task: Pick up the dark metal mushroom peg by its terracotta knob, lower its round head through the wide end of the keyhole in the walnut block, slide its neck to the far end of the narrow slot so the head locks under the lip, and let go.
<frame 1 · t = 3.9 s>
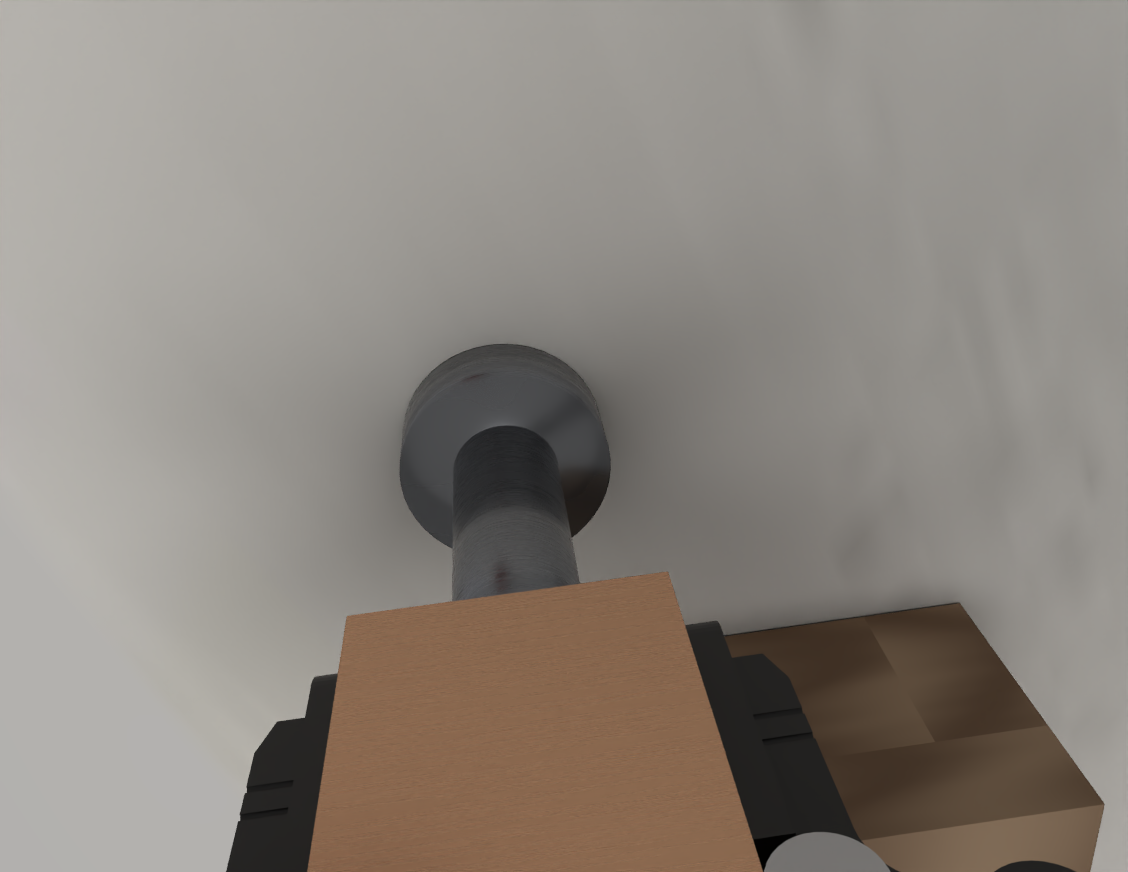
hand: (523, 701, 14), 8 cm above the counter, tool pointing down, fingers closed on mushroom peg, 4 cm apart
keyhole block: (753, 865, 27), on the counter
mushroom peg: (502, 435, 20), on the counter, touching gripper
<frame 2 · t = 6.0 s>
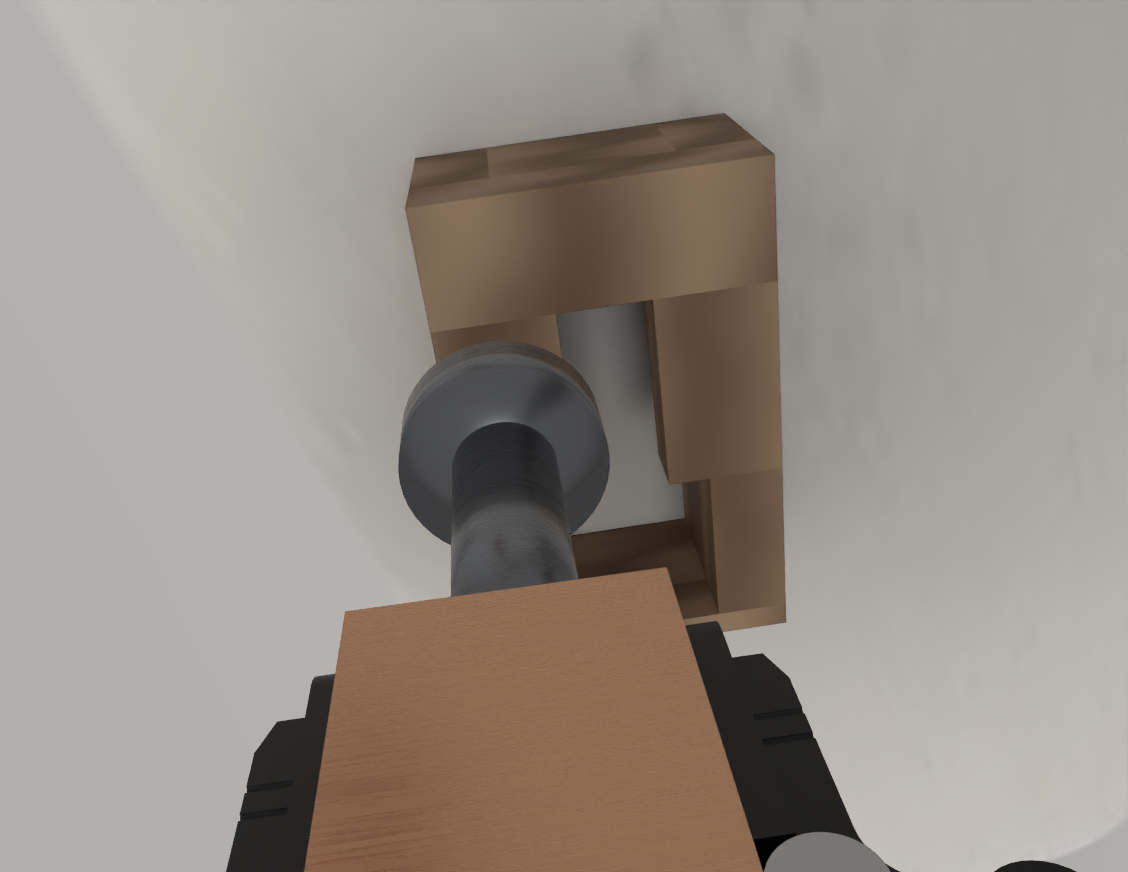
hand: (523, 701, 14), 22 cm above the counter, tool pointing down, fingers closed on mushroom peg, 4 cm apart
keyhole block: (597, 362, 36), on the counter
mushroom peg: (501, 432, 20), point 15 cm above the counter, touching gripper
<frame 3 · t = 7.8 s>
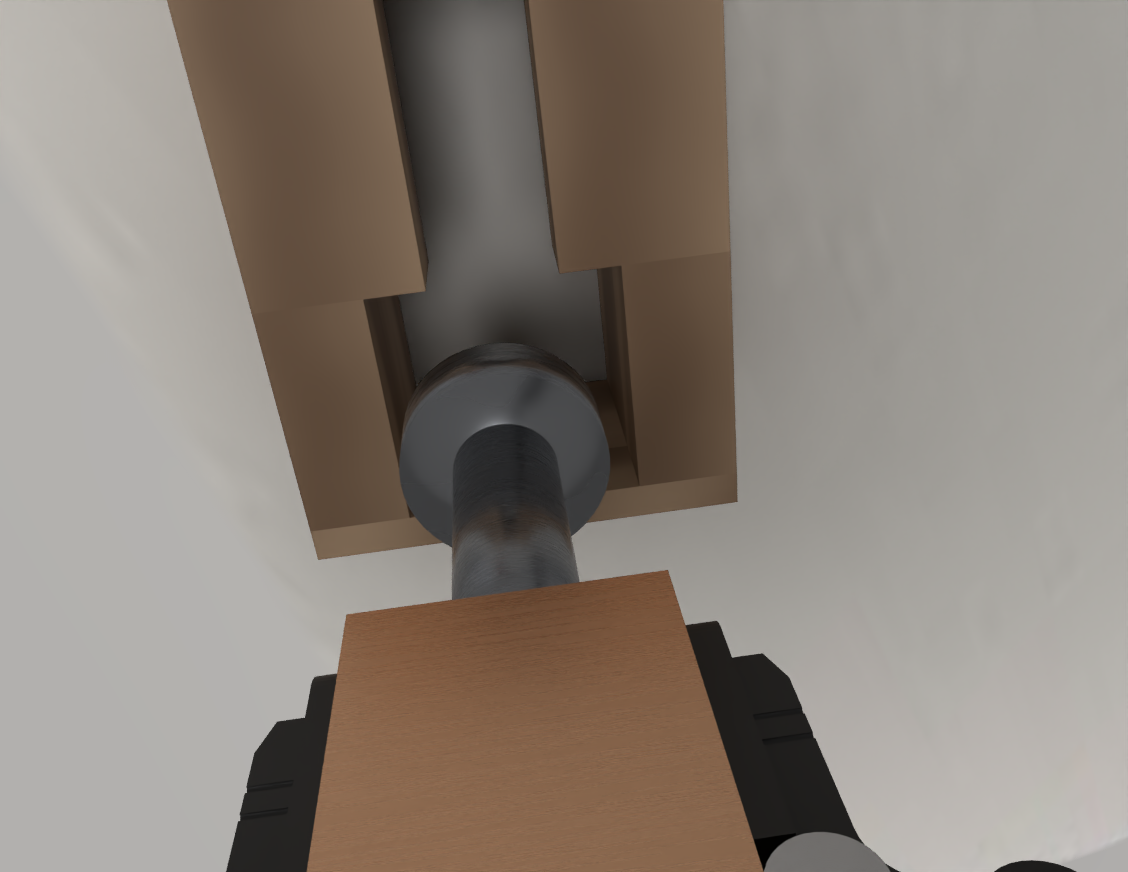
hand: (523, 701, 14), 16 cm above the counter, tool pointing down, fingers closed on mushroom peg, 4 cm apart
keyhole block: (476, 135, 25), on the counter
mushroom peg: (502, 434, 20), point 8 cm above the counter, touching gripper
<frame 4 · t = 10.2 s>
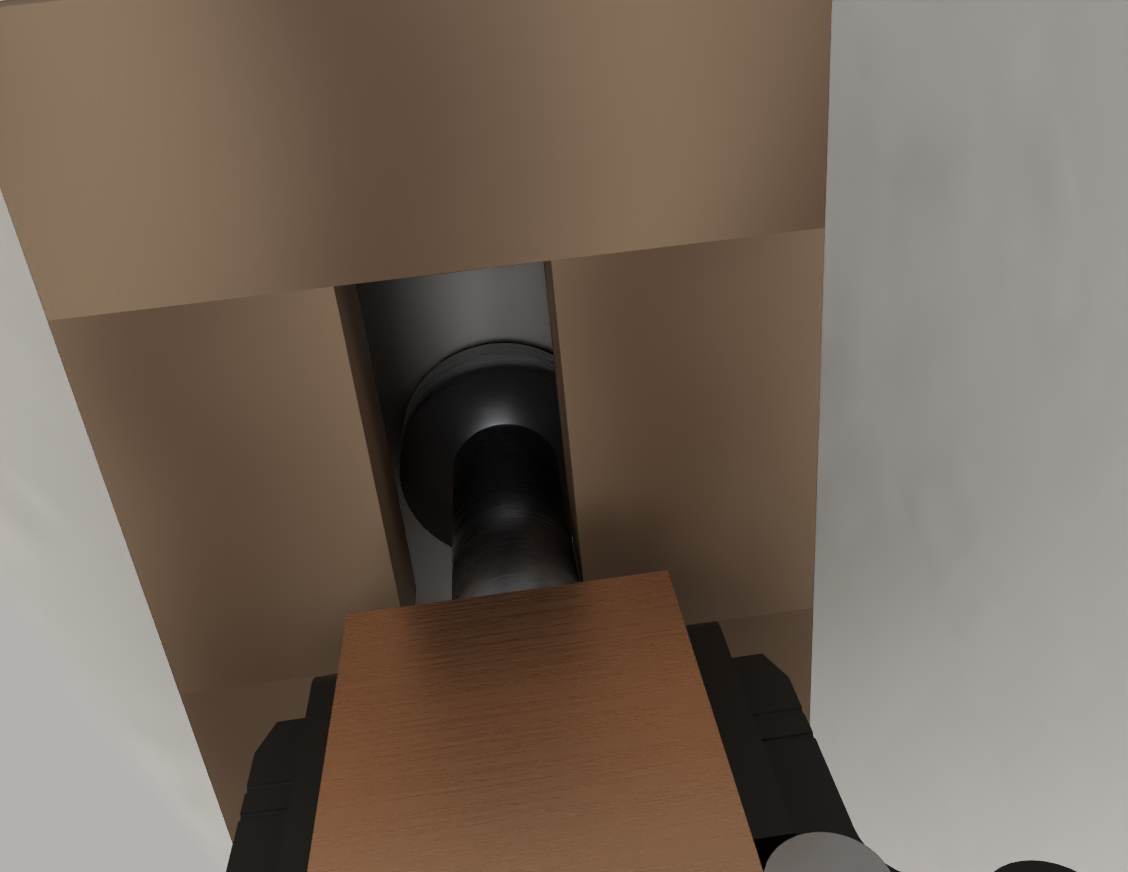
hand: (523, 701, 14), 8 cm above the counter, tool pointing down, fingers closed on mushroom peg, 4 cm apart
keyhole block: (477, 387, 20), on the counter
mushroom peg: (502, 434, 20), resting in keyhole block, touching gripper
when the fingers open (8 cm above the counter, at t = 12.1 s): mushroom peg stays where it is, resting in keyhole block.
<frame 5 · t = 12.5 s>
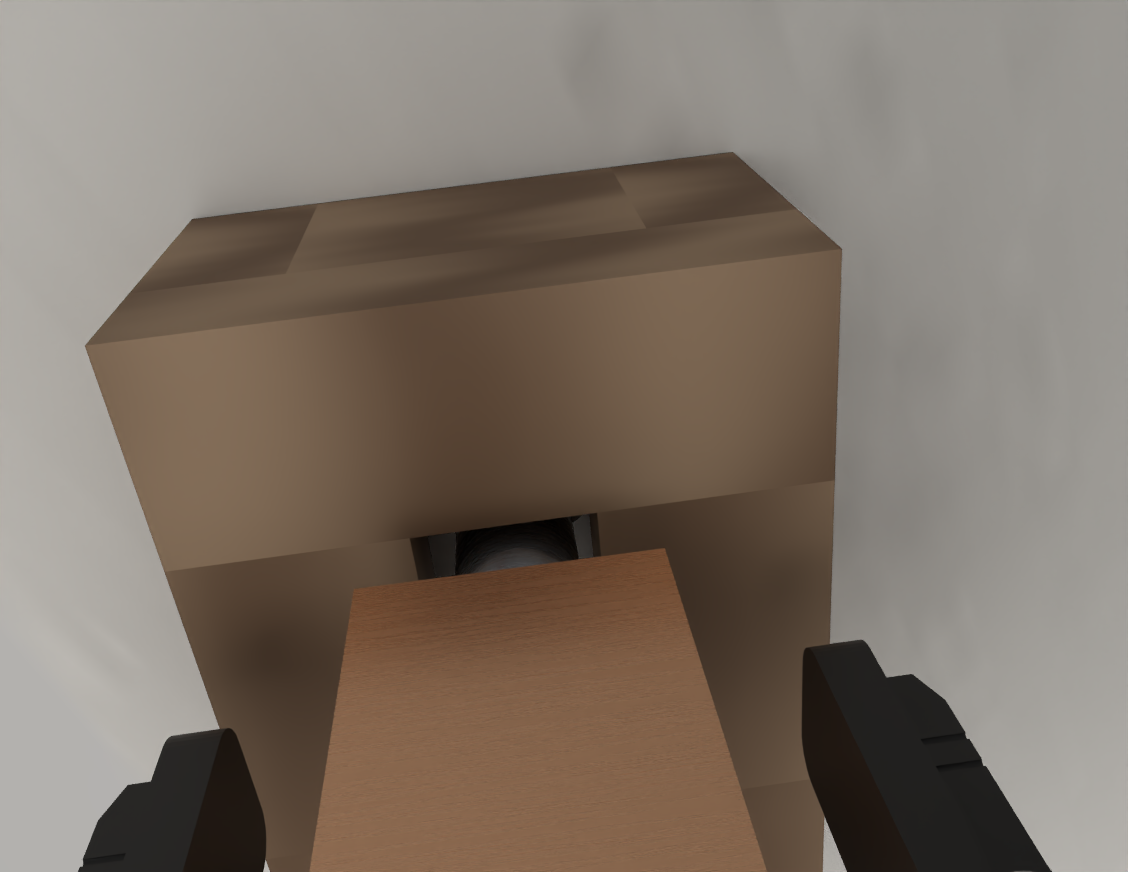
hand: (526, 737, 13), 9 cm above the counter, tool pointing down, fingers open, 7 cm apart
keyhole block: (517, 544, 22), on the counter
mushroom peg: (505, 423, 21), resting in keyhole block
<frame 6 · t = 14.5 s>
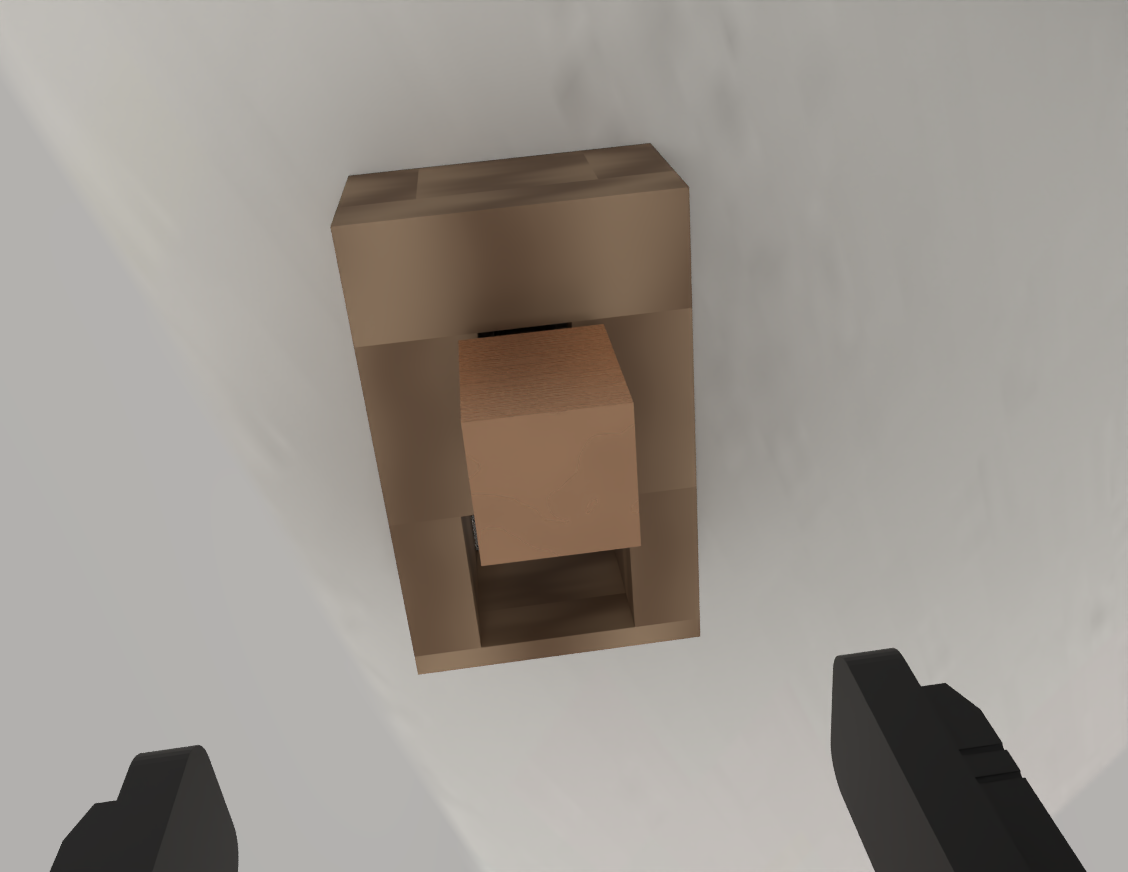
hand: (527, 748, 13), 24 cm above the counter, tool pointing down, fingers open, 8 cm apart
keyhole block: (525, 379, 37), on the counter
mushroom peg: (519, 300, 36), resting in keyhole block
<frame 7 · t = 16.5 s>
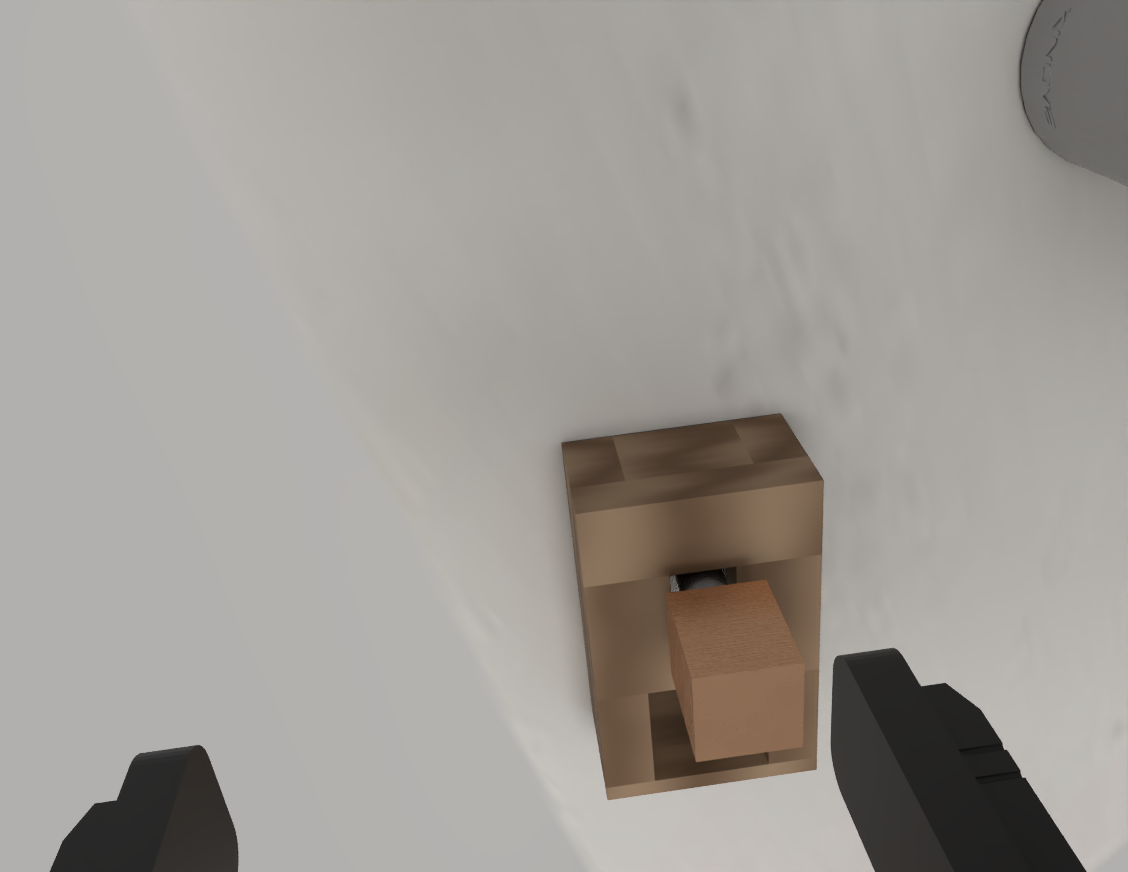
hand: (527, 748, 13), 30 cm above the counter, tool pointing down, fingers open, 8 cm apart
keyhole block: (679, 572, 49), on the counter
mushroom peg: (679, 520, 48), resting in keyhole block
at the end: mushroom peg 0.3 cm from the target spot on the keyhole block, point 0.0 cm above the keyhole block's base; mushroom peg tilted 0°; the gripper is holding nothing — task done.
